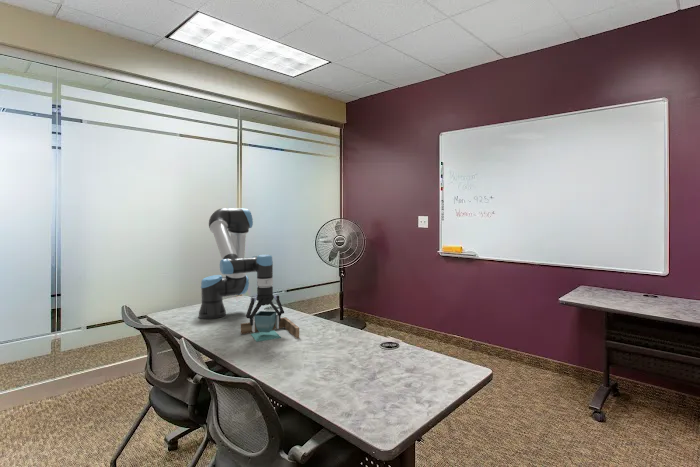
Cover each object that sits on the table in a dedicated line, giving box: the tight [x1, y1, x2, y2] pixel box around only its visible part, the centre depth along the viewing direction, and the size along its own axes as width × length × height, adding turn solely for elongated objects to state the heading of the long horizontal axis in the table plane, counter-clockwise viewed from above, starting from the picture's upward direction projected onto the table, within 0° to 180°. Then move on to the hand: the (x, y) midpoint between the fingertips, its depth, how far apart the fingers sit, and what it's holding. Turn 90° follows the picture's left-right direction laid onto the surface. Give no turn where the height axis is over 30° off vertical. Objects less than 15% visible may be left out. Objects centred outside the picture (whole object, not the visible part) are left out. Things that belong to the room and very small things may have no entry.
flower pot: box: [254, 310, 277, 332], centre depth 181 cm, size 9×9×9 cm
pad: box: [250, 329, 282, 343], centre depth 182 cm, size 12×12×1 cm
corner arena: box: [240, 316, 300, 339], centre depth 183 cm, size 20×24×5 cm
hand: (265, 329), depth 182 cm, fingers closed on flower pot, 11 cm apart
